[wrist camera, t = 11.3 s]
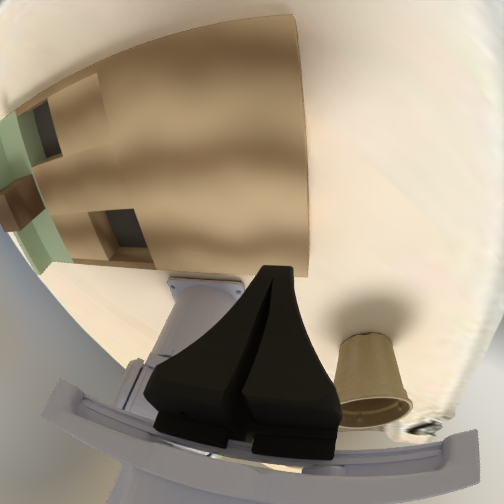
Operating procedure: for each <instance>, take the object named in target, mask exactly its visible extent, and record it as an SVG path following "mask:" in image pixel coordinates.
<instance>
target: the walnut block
mask: <svg viewBox="0 0 504 504" xmlns="http://www.w3.org/2000/svg"><path fill="white" fill-rule="evenodd" d="M45 209H46V208H45V206H44V203H43V201H42V198H41V196H40V194H39V191H38V188H37V186H36V183H35V181H34V178H33V175H32V174H30V175H27V176H25V177H22V178H19V179H16V180H14V181H13V182H11V183H10V184H9V185H7V186H6V187H5V188H3V189H2V190H1V191H0V223H1V225H2V227H3V230H4V231H5V232H14V231H21V230H22V229H23V228H24V227H25V226H27V225H28V224H29V223H30V222H31V221H32V220H33V219H34V218H35V217H37V216H38V215H39V214H40V213H41V212H42V211H43V210H45Z"/></svg>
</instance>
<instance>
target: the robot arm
mask: <svg viewBox="0 0 504 504" xmlns="http://www.w3.org/2000/svg"><path fill="white" fill-rule="evenodd" d="M167 283H168V285H169V288H170V290H171V293H172V295H173V297H174V300H175V302H176V303H175V305H174V307H173V309H172V311H171V313H170V315H169V317H168V319H167V321H166V323H165V325H164V327H163V329H162V331H161V333H160V335H159V337H158V340H157V342H156V344H155V346H154V348H153V350H152V352H151V353H150V354H149V356H148V359H147V361H146V363H145V364H143V362H144V360H142V359H140V358H137V360H132V361H130V363H129V364H128V366H127V368H126V370H125V371H124V373H123V375H122V378H121V380H120V382H119V384H118V386H117V388H116V391H115V393H114V395H113V397H112V400H111V402H110V404H107V403H105V402H102V401H100V400H98V399H95V398H93V397H91V396H88V395H86V394H84V392H83V391H82V390H81V389H80V388H78V387H77V386H75V385H74V384H72V383H70V382H68V381H66V380H64V379H61V378H60V379H59V381H58V382H57V384H56V386H55V388H54V390H53V392H52V394H51V395H50V398H49V399H48V401H47V403H46V405H45V407H44V409H43V411H42V413H41V416H42V417H44V418H45V419H47V420H48V421H50V422H51V423H52V424H54V425H56V426H57V427H59V428H60V429H62V430H63V431H65V432H66V433H68V434H70V435H71V436H73V437H75V438H77V439H78V440H80V441H82V442H84V443H85V444H87V445H89V446H91V447H93V448H94V449H96V450H98V451H100V452H102V453H104V454H106V455H108V456H110V457H112V458H114V459H116V460H118V461H120V463H121V467H120V469H119V471H118V474H117V476H116V479H115V481H114V483H113V486H112V488H111V491H110V493H109V496H108V498H107V501H106V503H105V504H396V503H402V502H408V501H414V500H420V499H425V498H429V497H434V496H438V495H442V494H446V493H450V492H454V491H457V490H460V489H464V488H467V487H470V486H473V485H476V484H478V483H479V482H480V459H479V458H480V457H479V441H478V430H476V429H474V430H470V431H466V432H461V433H457V434H453V435H450V436H448V437H447V438H445V439H444V440H443V441H440V442H434V443H428V444H421V445H414V446H406V447H397V448H385V449H368V450H335V443H336V439H337V432H338V427H339V425H340V423H341V421H342V408H341V403H340V400H339V397H338V394H337V391H336V387H335V386H334V384H333V382H332V381H331V379H330V378H329V376H328V374H327V373H326V371H325V369H324V367H323V366H322V364H321V362H320V360H319V358H318V356H317V354H316V352H315V350H314V348H313V346H312V344H311V341H310V339H309V337H308V334H307V332H306V329H305V327H304V324H303V321H302V318H301V315H300V311H299V308H298V304H297V300H296V296H295V291H294V268H293V267H292V266H280V265H263V266H262V267H261V268H260V270H259V271H258V273H257V274H256V276H255V278H254V279H253V280H252V282H251V283H250V285H249V286H248V288H247V289H246V290H244V285H243V284H242V283H240V282H232V281H216V280H200V279H186V278H172V277H171V278H169V279H168V280H167ZM238 290H240V291H238ZM253 439H254V440H253ZM252 442H253V443H252ZM220 456H226V457H231V458H237V459H242V460H248V461H254V462H261V463H269V464H278V465H287V466H300V467H305V468H303V469H302V474H301V473H292V472H285V471H278V470H271V469H266V468H260V467H254V466H249V465H244V464H239V463H234V462H230V461H225V460H220V459H218V458H219V457H220Z"/></svg>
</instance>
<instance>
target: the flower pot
mask: <svg viewBox="0 0 504 504" xmlns="http://www.w3.org/2000/svg"><path fill="white" fill-rule="evenodd" d="M334 386H335V387H336V391H337V394H338V397H339V400H340V403H341V408H342V421H341V423H340V425H339V427H343V428H354V429H358V428H371V427H378V426H382V425H386V424H390V423H392V422H395V421H397V420H399V419H401V418H403V417H405V416H406V415H408V414H409V413H410V412H411V410H412V408H413V404H412V401H411V400H410V399H408V396H407V392H406V390H405V389H404V388H403V384H402V381H401V377H400V373H399V369H398V365H397V362H396V358H395V354H394V350H393V346H392V343H391V341H390V339H389V338H387V337H386V336H384V335H381V334H378V333H370V334H368V335H355V336H353V337H351V338H349V339H347V340H346V341H345V342H344V343H343V344H342V345H341V347H340V350H339V358H338V364H337V369H336V374H335V379H334Z"/></svg>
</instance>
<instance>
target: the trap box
mask: <svg viewBox="0 0 504 504" xmlns="http://www.w3.org/2000/svg"><path fill="white" fill-rule="evenodd" d="M30 174H32V175H33V178H34V181H35V183H36V186H37V188H38V191H39V194H40V196H41V198H42V201H43V203H44V206H45V208H46V209H45V210H43V211H42V212H41V213H40V214H39V215H38V216H37V217H35V218H34V219H33V220H32V221H31V222H30V223H29V224H28V225H27V226H25V227H24V228H23V229H22V230H21V231H14V232H13V233H14V235H15V236H16V238H17V240H18V242H19V244H20V246H21V248H22V250H23V252H24V253H25V255H26V257H27V259H28V261H29V262H30V264H31V266H32V267H33V269H34V271H35V272H36V274H38V275H41V274H42V273H43V272H44V270H45V269H46V268H47V267H48V266H49V265H50V264H51V262H52V261H53V262H64V263H75V264H87V265H99V266H112V267H125V268H139V269H153V270H168V271H184V272H201V273H219V274H239V275H256V274H257V273H258V271H259V270H260V268H261V267H262V266H263V265H280V266H292V267H293V268H294V277H308V266H309V193H308V164H307V143H306V126H305V111H304V98H303V86H302V75H301V65H300V55H299V46H298V38H297V30H296V22H295V19H294V16H293V14H290V15H276V16H265V17H256V18H248V19H241V20H235V21H229V22H223V23H218V24H213V25H208V26H204V27H199V28H195V29H191V30H187V31H183V32H180V33H176V34H172V35H169V36H166V37H162V38H159V39H156V40H153V41H150V42H147V43H144V44H141V45H138V46H136V47H133V48H130V49H128V50H125V51H123V52H120V53H118V54H115V55H113V56H111V57H108V58H106V59H104V60H101V61H99V62H97V63H95V64H93V65H91V66H89V67H87V68H85V69H83V70H81V71H79V72H77V73H75V74H73V75H71V76H69V77H67V78H65V79H64V80H62V81H60V82H58V83H56V84H55V85H53V86H51V87H50V88H48V89H46V90H45V91H43V92H41V93H40V94H38V95H37V96H35V97H34V98H32V99H31V100H29V101H28V102H26V103H25V104H23V105H22V106H20V107H19V108H17V109H16V110H15V111H13V112H12V113H10V114H9V115H8V116H6V117H5V118H4V119H3V120H1V121H0V191H1V190H2V189H3V188H5V187H6V186H7V185H9V184H10V183H11V182H13V181H14V180H16V179H19V178H22V177H25V176H27V175H30Z"/></svg>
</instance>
